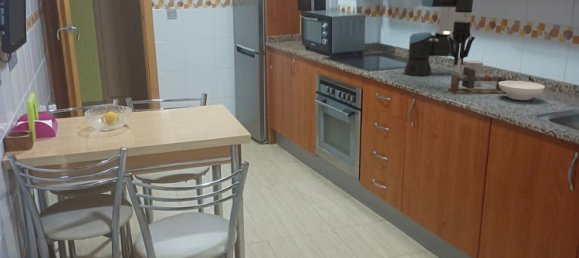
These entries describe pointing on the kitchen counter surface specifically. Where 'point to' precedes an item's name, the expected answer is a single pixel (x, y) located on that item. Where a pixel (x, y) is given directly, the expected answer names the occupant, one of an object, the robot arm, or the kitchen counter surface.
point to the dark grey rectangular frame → (469, 77)
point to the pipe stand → (484, 77)
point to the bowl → (521, 89)
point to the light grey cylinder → (477, 66)
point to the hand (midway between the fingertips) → (457, 71)
